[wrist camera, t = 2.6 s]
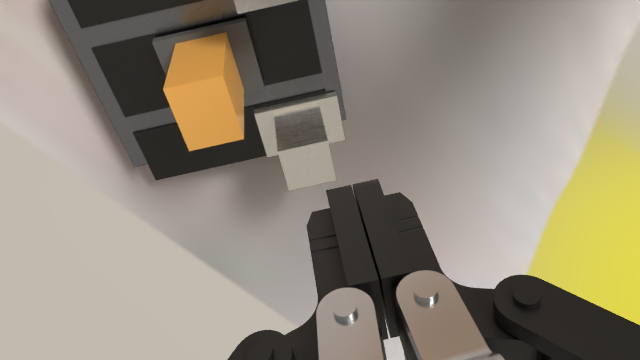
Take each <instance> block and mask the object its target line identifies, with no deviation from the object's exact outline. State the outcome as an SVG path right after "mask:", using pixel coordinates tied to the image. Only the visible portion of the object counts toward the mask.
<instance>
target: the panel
mask: <svg viewBox="0 0 640 360" xmlns="http://www.w3.org/2000/svg"><path fill="white" fill-rule="evenodd" d="M49 2H50V4H51V5H52V7H53V9H54V11H55V13H56V15H57V17H58V19H59V21H60V23H61V25H62V27H63V29H64V31H65V33H66V35H67V37H68V38H69V40H70V42H71V44H72V46H73V48H74V50H75V52H76V54H77V56H78V58H79V60H80V62H81V64H82V66H83V68H84V70H85V71H86V73H87V75H88V77H89V79H90V81H91V83H92V85H93V87H94V89H95V91H96V93H97V95H98V97H99V99H100V101H101V103H102V104H103V106H104V108H105V110H106V112H107V114H108V116H109V118H110V120H111V122H112V124H113V126H114V128H115V130H116V132H117V134H118V136H119V137H120V139H121V141H122V143H123V145H124V147H125V149H126V151H127V153H128V155H129V157H130V159H131V161H132V163H133V165H134V167H137V166H141V165H146V164H148V165H149V167H150V169H151V171H152V173H153V175H154V177H155V179H156V180H159V179H164V178H168V177H173V176H177V175H182V174H186V173H191V172H195V171H199V170H204V169H208V168H213V167H217V166H222V165H226V164H231V163H235V162H240V161H244V160H249V159H253V158H258V157H262V156H267V157H271V156H276V155H279V159H280V162H281V165H282V169H283V172H284V176H285V179H286V183H287V186H288V190H289V191H290V190H295V189H299V188H304V187H309V186H313V185H318V184H322V183H327V182H331V181H336V177H335V172H334V167H333V162H332V158H331V153H330V148H329V144H330V143H334V142H339V141H343V140H345V137H344V131H343V126H342V120H346V115H345V110H344V104H343V99H342V93H341V87H340V82H339V76H338V70H337V65H336V59H335V54H334V48H333V42H332V37H331V31H330V25H329V20H328V14H327V9H326V3H325V0H49ZM241 18H246V21H247V25H248V28H249V32H250V35H251V39H252V42H253V46H254V50H255V53H256V57H257V60H258V64H259V67H260V71H261V74H262V78H263V82H264V85H265V90H264V91H260V92H256V93H251V94H247V95H244V139H242V140H238V141H233V142H229V143H224V144H220V145H215V146H211V147H206V148H202V149H197V150H193V151H189V150H188V147H187V145H186V143H185V140H184V138H183V136H182V133H181V131H180V128H179V126H178V124H177V121H176V119H175V117H174V114H173V112H172V109H171V107H170V105H169V102H168V100H167V98H166V95H165V93H164V90H163V88H164V84H165V80H166V75H165V73H164V70H163V68H162V65H161V63H160V61H159V58H158V56H157V53H156V51H155V48H154V46H153V44H152V41H153V39H154V38H157V37H162V36H166V35H170V34H175V33H179V32H184V31H188V30H192V29H197V28H201V27H206V26H210V25H214V24H219V23H223V22H227V21H232V20H236V19H241Z"/></svg>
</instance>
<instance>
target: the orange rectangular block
mask: <svg viewBox="0 0 640 360" xmlns="http://www.w3.org/2000/svg"><path fill="white" fill-rule="evenodd" d="M152 44H153V46H154V48H155V51H156V53H157V56H158V58H159V61H160V63H161V65H162V68H163V70H164V73H165V75H166V80H165V84H164V88H163V90H164V93H165V95H166V98H167V100H168V102H169V105H170V107H171V109H172V112H173V114H174V117H175V119H176V121H177V124H178V126H179V128H180V131H181V133H182V136H183V138H184V140H185V143H186V145H187V147H188V150H189V151H193V150H197V149H202V148H206V147H211V146H215V145H220V144H224V143H229V142H233V141H238V140H242V139H244V95H247V94H251V93H256V92H260V91H264V90H265V85H264V82H263V78H262V74H261V71H260V67H259V64H258V60H257V57H256V53H255V50H254V46H253V42H252V39H251V35H250V32H249V28H248V25H247V21H246V18H241V19H236V20H232V21H227V22H223V23H219V24H214V25H210V26H206V27H201V28H197V29H192V30H188V31H184V32H179V33H175V34H170V35H166V36H162V37H157V38H154V39H153V41H152Z"/></svg>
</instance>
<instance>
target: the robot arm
mask: <svg viewBox="0 0 640 360" xmlns="http://www.w3.org/2000/svg"><path fill="white" fill-rule="evenodd" d="M353 191H354V194H353ZM326 192H327V196H328V201H329V205H330V208H328V209H324V210H319V211H315V212H312V214H311V216H310V219H309V222H308V224H307V231H308V237H309V242H310V249H311V255H312V262H313V268H314V274H315V280H316V287H317V293H318V304H317V307H316V310H315V312H314V314H313V315H312V316H311V318H310V319H309V320H308V321H307V322H306V323H304V324H303V325H302V326H300V327H299V328H297V329H295V330H293V331H291V332H290V333H288V334H286V335H283V334H281V333H280V332H277V331H273V330H263V331H258V332H255V333H253V334H251V335H249V336H248V337H246V338H245V339H244V340H243V341H242V342H241V343H240V344H239V345H238V346H237V348H236V349H235V350H234V352H233V353H232V354H231V356H230V357H229V358H228V360H387V359H386V353H385V348H384V342H383V340H385V339H388V334H387V328H386V323H387V326H388V330H389V333H390V337H391V338H393V337H397V336H400V340H401V343H402V346H403V350H404V356H405V360H640V325H638V324H636V323H634V322H631V321H629V320H627V319H625V318H623V317H621V316H618V315H616V314H614V313H612V312H610V311H608V310H606V309H603V308H601V307H599V306H597V305H595V304H593V303H591V302H589V301H587V300H584V299H582V298H580V297H578V296H576V295H574V294H571V293H569V292H567V291H565V290H563V289H561V288H559V287H557V286H555V285H552V284H550V283H548V282H546V281H544V280H542V279H539V278H537V277H534V276H529V275H514V276H510V277H508V278H505V279H504V280H502V281H501V282H500V283H499V284H498V285H497V286H496V288H495V289H483V288H470V287H466V286H462V285H459V284H457V283H455V282H453V281H452V280H450V279H449V278H448V277H447V276H446V275H445V274H444V273H443V272H442V270H441V268H440V266H439V263H438V261H437V259H436V256H435V254H434V252H433V250H432V247H431V245H430V243H429V240H428V238H427V236H426V233H425V231H424V229H423V226H422V224H421V222H420V219H419V218H418V215H417V212H416V210H415V208H414V205H413V203H412V202H411V201H410V200H409V199H407V198H406V197H405V196H404V195H403V194H401V193H400V192H399V193H395V194H390V195H386V196H384V194H383V191H382V189H381V186H380V183H379V181H378V179H375V180H370V181H366V182H361V183H357V184H353V190H352V187H351V185H348V186H344V187H340V188H335V189H331V190H326ZM354 196H355V197H354ZM385 319H386V322H385Z"/></svg>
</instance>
